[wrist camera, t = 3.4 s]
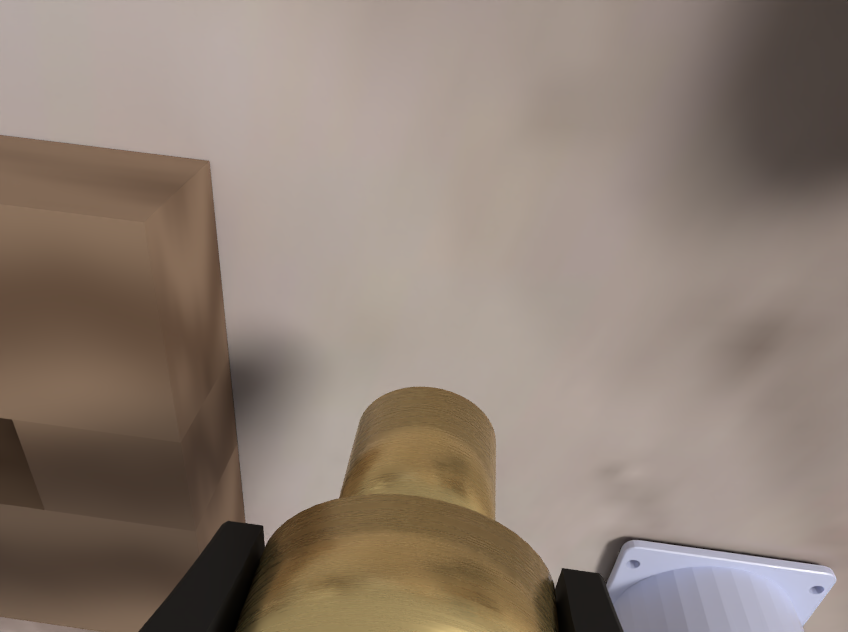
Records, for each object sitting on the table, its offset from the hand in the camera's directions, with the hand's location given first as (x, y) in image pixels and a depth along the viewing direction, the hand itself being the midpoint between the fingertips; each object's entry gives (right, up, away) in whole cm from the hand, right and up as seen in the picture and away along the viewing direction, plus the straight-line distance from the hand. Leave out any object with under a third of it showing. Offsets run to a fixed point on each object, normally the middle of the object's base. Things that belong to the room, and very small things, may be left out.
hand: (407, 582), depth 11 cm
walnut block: (-13, +2, +12) cm, 18 cm away
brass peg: (0, +2, +3) cm, 3 cm away
